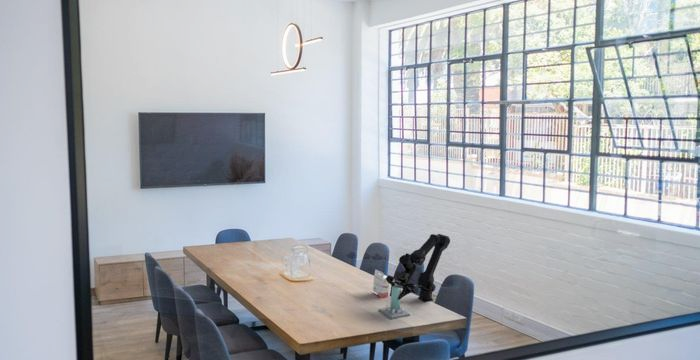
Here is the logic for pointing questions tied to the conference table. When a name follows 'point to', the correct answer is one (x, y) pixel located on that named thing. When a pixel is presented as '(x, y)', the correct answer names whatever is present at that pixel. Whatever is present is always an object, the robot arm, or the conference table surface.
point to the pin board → (394, 312)
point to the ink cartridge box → (380, 284)
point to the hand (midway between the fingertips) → (394, 297)
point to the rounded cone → (395, 298)
